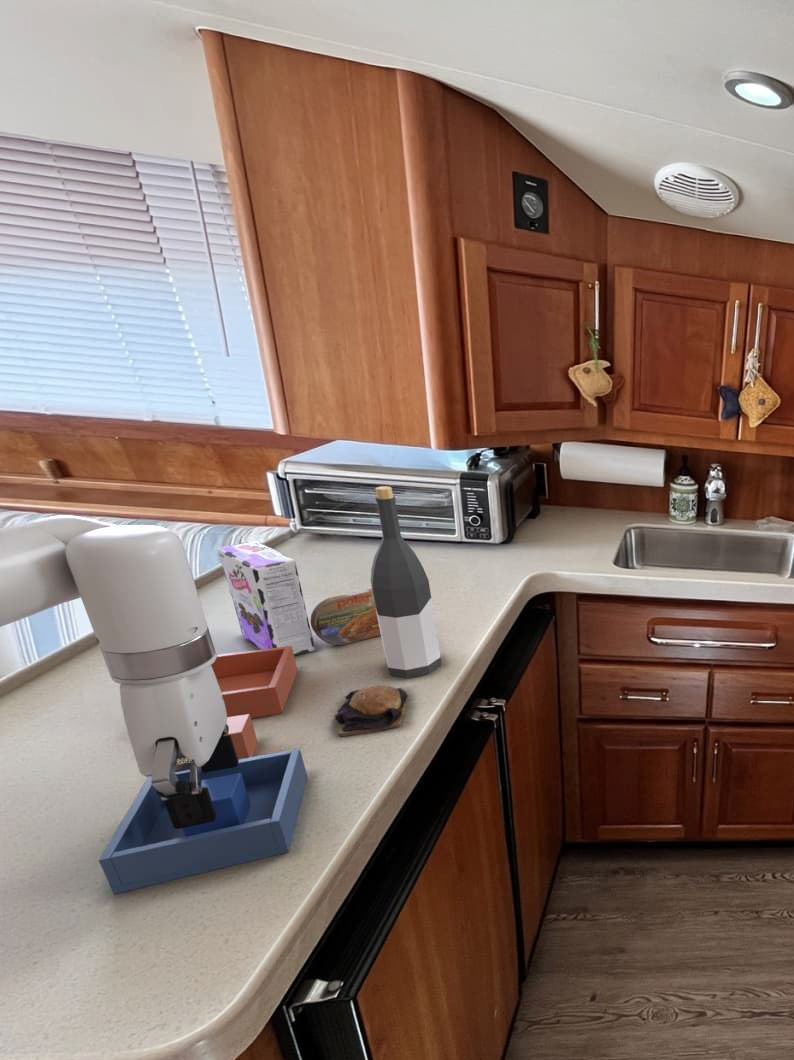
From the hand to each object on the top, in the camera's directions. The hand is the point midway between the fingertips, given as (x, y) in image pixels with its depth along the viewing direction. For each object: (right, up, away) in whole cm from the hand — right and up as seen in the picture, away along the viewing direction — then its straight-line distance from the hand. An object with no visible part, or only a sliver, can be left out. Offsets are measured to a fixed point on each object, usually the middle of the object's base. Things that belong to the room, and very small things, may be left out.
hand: (209, 794), depth 68 cm
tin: (-14, +14, +45) cm, 49 cm away
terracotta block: (-9, +1, +13) cm, 16 cm away
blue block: (0, -4, +2) cm, 4 cm away
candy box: (-25, +13, +40) cm, 49 cm away
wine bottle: (0, +10, +37) cm, 38 cm away
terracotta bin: (-19, +7, +24) cm, 32 cm away
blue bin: (0, -4, +2) cm, 5 cm away
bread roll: (+2, +4, +24) cm, 24 cm away
